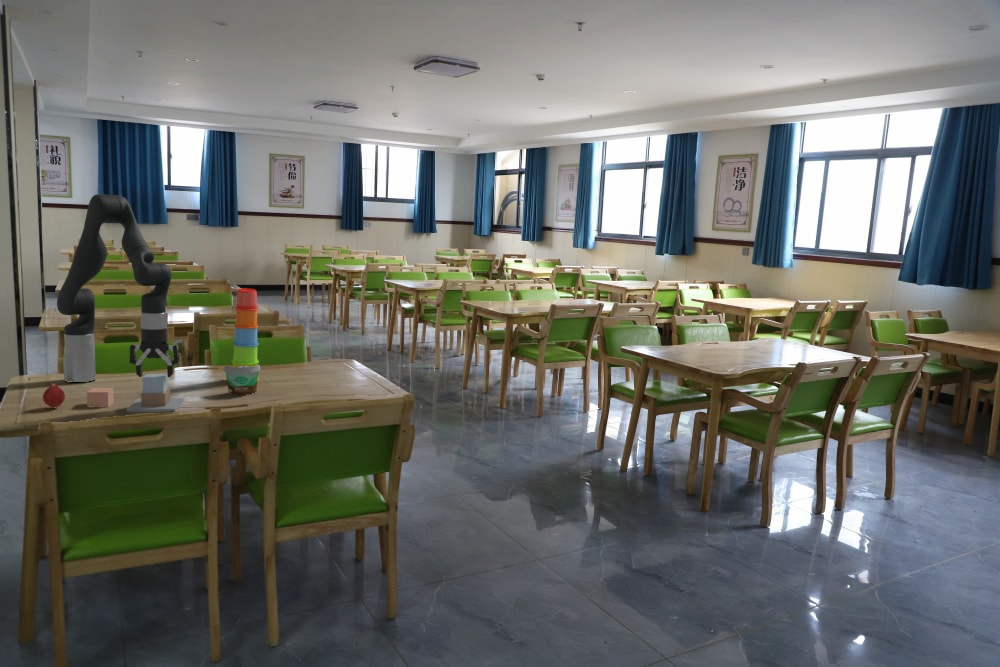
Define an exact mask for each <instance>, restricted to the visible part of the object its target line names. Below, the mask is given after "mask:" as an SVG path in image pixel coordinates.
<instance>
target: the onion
mask: <svg viewBox="0 0 1000 667" xmlns="http://www.w3.org/2000/svg"><path fill="white" fill-rule="evenodd" d="M65 398H66V394H65V392H64V390H63V389H62V388H61V387H59V386H57V385H56V384H55V383H51V384H50V386H48V387H47V388H46V389H45V390H44V393H43V395H42V400H43V402H44V403H45V404H46V405H47V406H48V407H50V408H51V407H57V408H58V407H60V406H61V405H62V404H63V403H64V400H65Z"/></svg>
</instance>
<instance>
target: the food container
mask: <svg viewBox="0 0 1000 667" xmlns="http://www.w3.org/2000/svg"><path fill="white" fill-rule="evenodd" d="M260 371H261V365H260V363H257V366H238V367H233V366H228V365H226V364H225V366H224V368H223V372H225V376H226V384H227V392H229V393H231V394H230V395H232V394H237V395H236V396H244V395H243V394H251V395H253V394H252V393H254V394H256V393H257V391H258V390H257V389H258V381H259V380H258V378H259V372H260ZM255 392H256V393H255ZM229 393H228V394H229Z"/></svg>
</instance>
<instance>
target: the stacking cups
mask: <svg viewBox="0 0 1000 667" xmlns="http://www.w3.org/2000/svg"><path fill="white" fill-rule="evenodd" d="M257 299H258V293H257V290H256V289H255V288H246V287H243V288H238V289H237V291H236V306H235V307H234V309H235V324H233V327H234V341H233V342H232V345H233V356H232V359H231V361H230V362H231V363H232V367H238V366H257V365H258V364H260V361H259V359H258V346H259V344H260V343H259V342H258V328H259V325H258V310H259V308H258V307H257V306H258V305H257V304H258V300H257ZM258 381H259V377H258Z"/></svg>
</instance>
